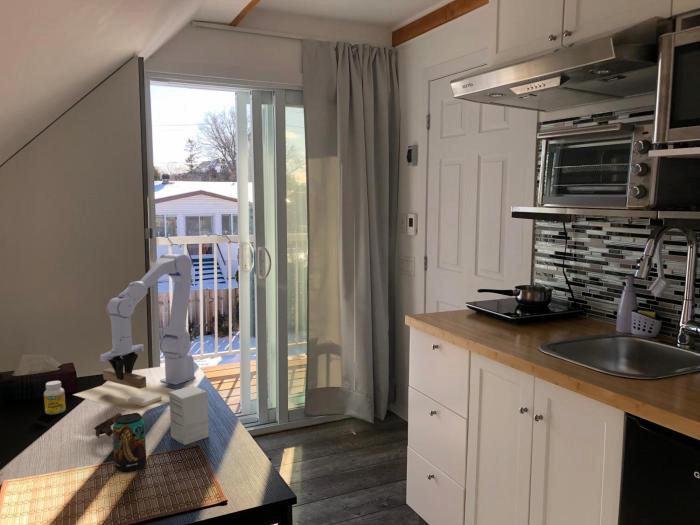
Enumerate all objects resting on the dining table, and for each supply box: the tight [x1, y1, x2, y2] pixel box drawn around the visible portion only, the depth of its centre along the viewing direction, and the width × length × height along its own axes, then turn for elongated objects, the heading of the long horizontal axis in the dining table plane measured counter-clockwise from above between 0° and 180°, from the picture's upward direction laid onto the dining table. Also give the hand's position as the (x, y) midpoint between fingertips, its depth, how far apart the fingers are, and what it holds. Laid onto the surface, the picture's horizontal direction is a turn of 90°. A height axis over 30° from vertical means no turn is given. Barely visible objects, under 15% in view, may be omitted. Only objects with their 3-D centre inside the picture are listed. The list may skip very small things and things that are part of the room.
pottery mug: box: [93, 412, 143, 438], centre depth 151 cm, size 12×10×8 cm
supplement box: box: [168, 385, 210, 446], centre depth 151 cm, size 7×7×13 cm
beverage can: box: [111, 413, 148, 474], centre depth 134 cm, size 7×7×12 cm
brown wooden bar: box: [102, 367, 147, 389], centre depth 181 cm, size 2×18×3 cm, turn 58°
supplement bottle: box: [43, 380, 66, 415], centre depth 168 cm, size 5×5×10 cm
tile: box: [128, 392, 162, 406], centre depth 176 cm, size 7×1×7 cm
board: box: [72, 382, 176, 416], centre depth 183 cm, size 20×32×1 cm, turn 58°
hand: (124, 378), depth 180 cm, fingers closed on brown wooden bar, 2 cm apart
